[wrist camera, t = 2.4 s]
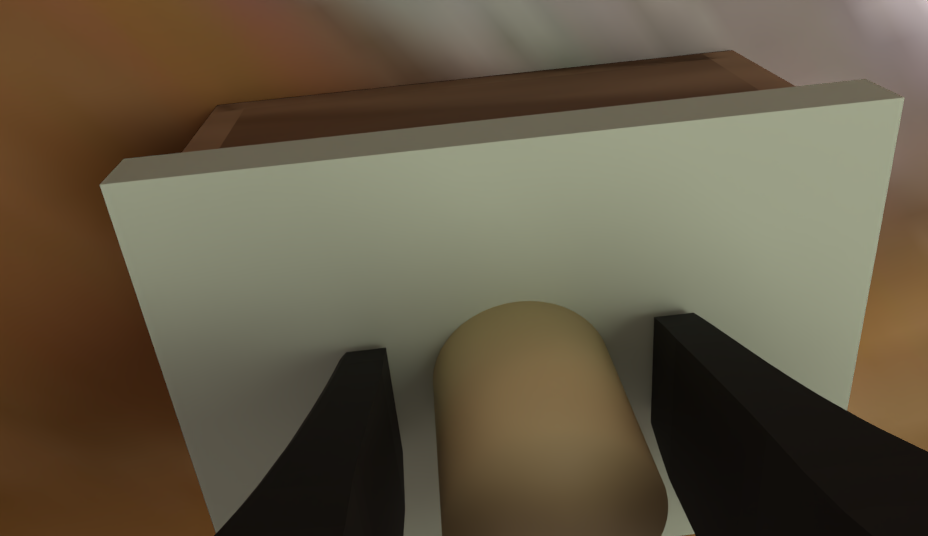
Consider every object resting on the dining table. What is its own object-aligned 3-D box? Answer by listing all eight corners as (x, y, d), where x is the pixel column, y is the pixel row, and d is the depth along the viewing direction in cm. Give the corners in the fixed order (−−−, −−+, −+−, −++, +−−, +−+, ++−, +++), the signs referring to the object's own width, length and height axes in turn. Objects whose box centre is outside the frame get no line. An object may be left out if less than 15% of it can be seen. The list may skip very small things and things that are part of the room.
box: (710, 349, 18) (783, 465, 15) (288, 397, 18) (261, 527, 15) (732, 50, 15) (834, 109, 11) (217, 105, 15) (159, 182, 11)
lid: (802, 479, 15) (925, 670, 11) (244, 545, 15) (194, 760, 11) (865, 79, 11) (1075, 178, 8) (123, 159, 11) (-7, 298, 8)
